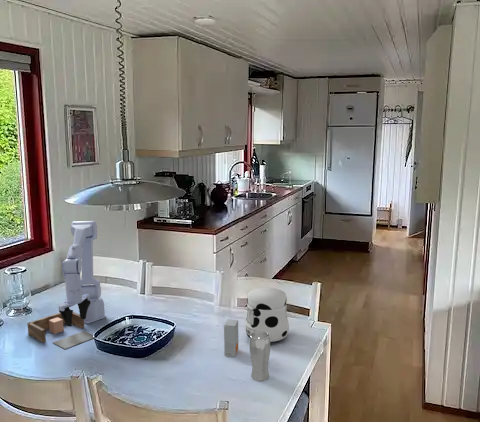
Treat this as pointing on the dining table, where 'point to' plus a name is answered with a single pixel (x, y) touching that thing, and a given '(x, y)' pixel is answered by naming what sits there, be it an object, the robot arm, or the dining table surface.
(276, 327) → the milk container
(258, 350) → the beer glass
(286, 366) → the dining table surface
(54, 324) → the terracotta block
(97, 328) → the dining table surface
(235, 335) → the skincare box
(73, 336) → the open box
